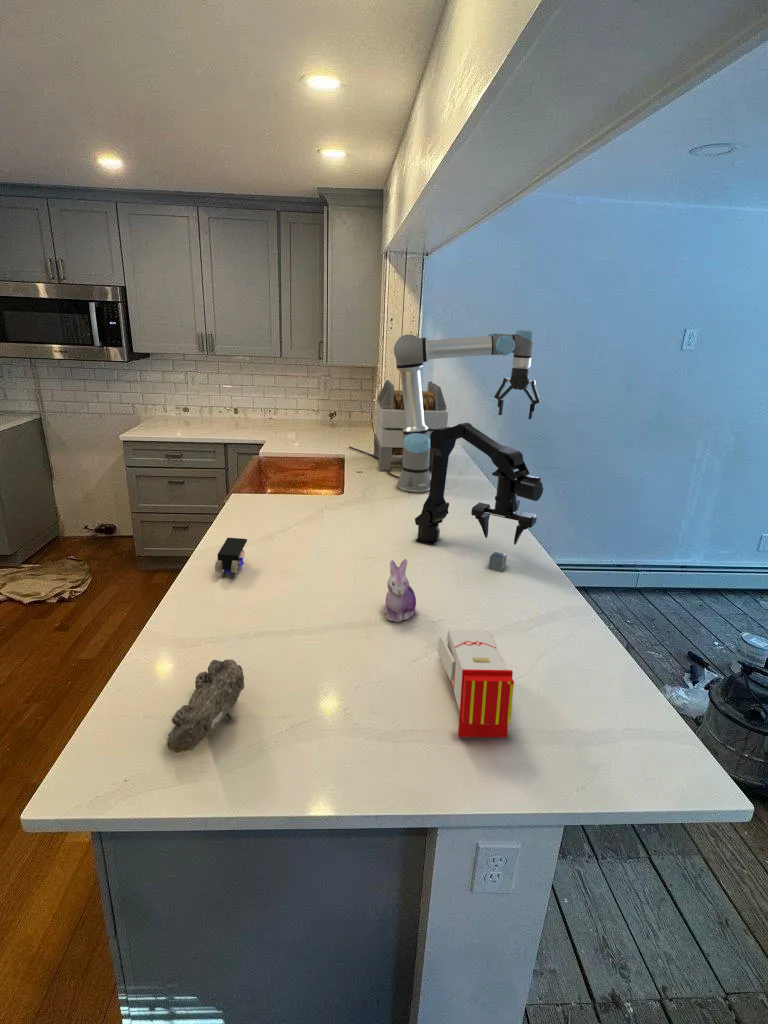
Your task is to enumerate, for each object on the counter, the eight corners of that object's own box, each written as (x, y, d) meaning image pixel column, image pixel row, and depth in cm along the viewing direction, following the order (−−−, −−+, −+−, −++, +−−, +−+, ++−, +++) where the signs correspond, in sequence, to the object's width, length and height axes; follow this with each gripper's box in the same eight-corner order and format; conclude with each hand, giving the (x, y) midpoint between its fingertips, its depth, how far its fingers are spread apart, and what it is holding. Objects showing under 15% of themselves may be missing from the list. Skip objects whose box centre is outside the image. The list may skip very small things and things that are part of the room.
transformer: (372, 454, 306) (375, 377, 292) (432, 454, 310) (437, 379, 296) (379, 471, 275) (382, 386, 261) (445, 472, 278) (452, 388, 265)
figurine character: (238, 584, 162) (249, 557, 175) (236, 562, 158) (247, 536, 172) (215, 584, 161) (227, 556, 175) (212, 561, 158) (225, 535, 171)
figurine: (392, 627, 141) (395, 572, 136) (374, 608, 149) (376, 556, 144) (425, 619, 145) (429, 566, 140) (405, 601, 154) (408, 550, 149)
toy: (488, 613, 130) (523, 677, 101) (484, 667, 133) (517, 744, 104) (435, 612, 130) (455, 676, 101) (432, 666, 133) (451, 743, 103)
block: (501, 571, 174) (502, 559, 173) (488, 568, 176) (490, 556, 175) (505, 566, 178) (507, 554, 177) (493, 563, 180) (494, 551, 178)
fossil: (192, 660, 117) (244, 628, 112) (224, 691, 120) (276, 661, 115) (142, 746, 98) (202, 712, 93) (182, 779, 101) (242, 748, 96)
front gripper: (544, 491, 171) (537, 539, 176) (486, 480, 179) (481, 526, 185) (534, 501, 162) (527, 551, 167) (473, 489, 170) (468, 537, 176)
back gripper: (552, 369, 241) (545, 419, 249) (496, 364, 253) (491, 412, 260) (547, 370, 235) (540, 421, 243) (490, 365, 247) (485, 414, 254)
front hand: (500, 540), depth 174 cm, fingers open, 9 cm apart
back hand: (515, 416), depth 251 cm, fingers open, 13 cm apart
